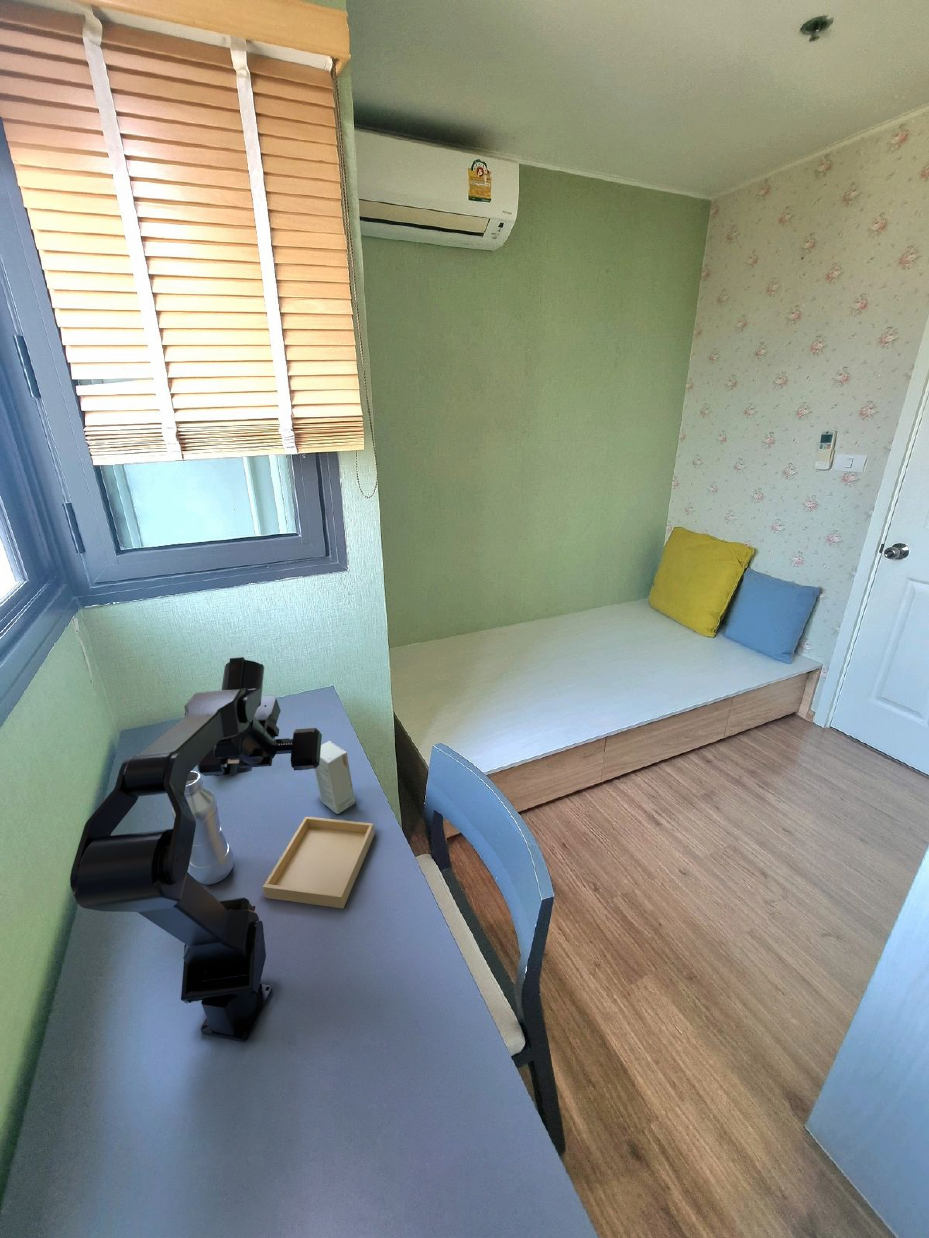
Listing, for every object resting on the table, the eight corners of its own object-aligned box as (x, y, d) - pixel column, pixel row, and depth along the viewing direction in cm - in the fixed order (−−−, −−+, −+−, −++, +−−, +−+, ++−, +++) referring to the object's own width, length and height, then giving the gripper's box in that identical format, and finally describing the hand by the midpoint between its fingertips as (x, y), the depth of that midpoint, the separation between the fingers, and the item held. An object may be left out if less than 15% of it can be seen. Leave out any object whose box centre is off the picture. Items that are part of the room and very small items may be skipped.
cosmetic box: (356, 803, 101) (348, 752, 96) (337, 815, 98) (328, 763, 93) (337, 788, 105) (329, 738, 100) (319, 799, 102) (309, 749, 97)
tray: (343, 908, 80) (341, 897, 79) (265, 897, 82) (262, 886, 81) (375, 833, 94) (373, 823, 93) (307, 826, 96) (305, 815, 95)
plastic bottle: (221, 893, 83) (192, 795, 75) (184, 886, 84) (152, 790, 77) (244, 860, 89) (219, 767, 81) (210, 855, 90) (182, 763, 83)
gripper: (312, 683, 81) (333, 719, 95) (193, 690, 81) (231, 726, 94) (305, 752, 76) (329, 780, 89) (176, 760, 75) (220, 787, 88)
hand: (277, 766), depth 90 cm, fingers open, 9 cm apart
